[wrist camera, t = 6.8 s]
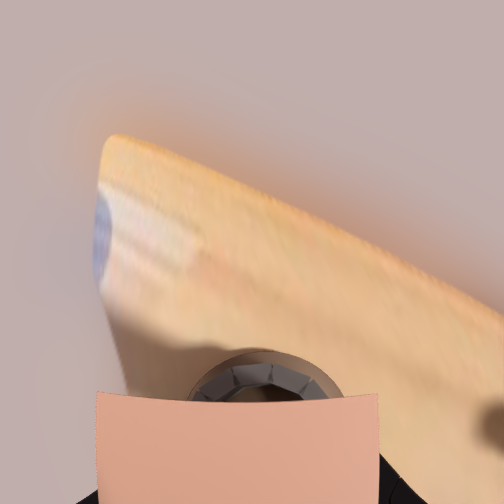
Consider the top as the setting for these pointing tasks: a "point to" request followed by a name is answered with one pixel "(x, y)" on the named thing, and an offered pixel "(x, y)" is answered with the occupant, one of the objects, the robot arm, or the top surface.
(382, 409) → the top surface
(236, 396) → the socket
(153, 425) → the terracotta peg
